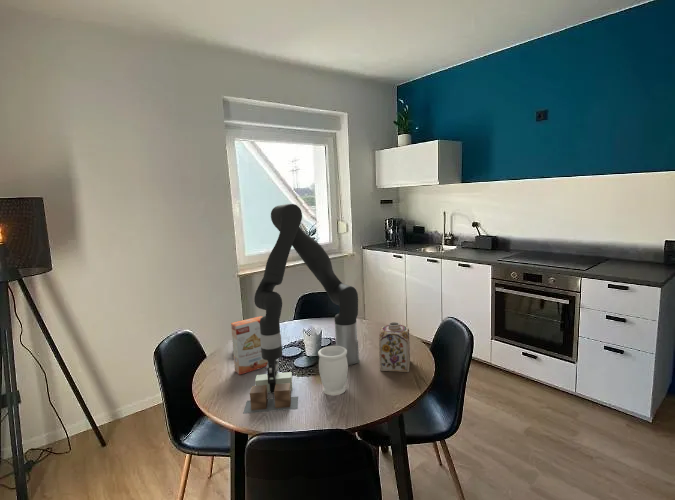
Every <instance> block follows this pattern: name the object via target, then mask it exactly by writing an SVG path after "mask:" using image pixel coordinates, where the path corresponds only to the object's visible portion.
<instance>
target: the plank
mask: <svg viewBox="0 0 675 500" xmlns="http://www.w3.org/2000/svg"><path fill="white" fill-rule="evenodd" d="M292 373H293V372H292V371H289V372H288V371H287V372H278V373H277V376H276V384H284V383H290V390H291V391H293V374H292ZM271 379H273V378H270V380H271ZM254 382H255V386H259V385H267V393H271V392H270V384H268V375H267V373H265V374H256V377H255V380H254Z"/></svg>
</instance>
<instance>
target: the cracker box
mask: <svg viewBox="0 0 675 500" xmlns="http://www.w3.org/2000/svg"><path fill="white" fill-rule="evenodd" d="M262 317H263V316H262V315H260V316H255V317H251V318H246V319H243V320H238V321H234V322H231V323H230V329H231V338H232V339H231V340H232V341H231V342H232V353H233V365H234V366H233V368H234V371H235V372H236V373H237V374H238V375H239V376H240V375H243V374H247V373H250V372H254V371H256V370H260V369H262V368H265V367H266V368H267V363H268V361H267V360H264V359H263V358H262V354H261V342H260V337H261V332H260V319H261V318H262Z"/></svg>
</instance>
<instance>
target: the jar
mask: <svg viewBox="0 0 675 500" xmlns="http://www.w3.org/2000/svg"><path fill="white" fill-rule="evenodd" d="M346 354H347V350H346V348H344V347H341V346H336V345H328V346H325V347H322V348H320V349H319V350H318V351H317V355H318V357H319V358H318V372H319V375H320V380H321V384H322V386H323V387H322V392H323V393H324V394H325V395H328V396H339V395H343V394H344V393H345V392H346V390H347V387H346V383H347V379H348V370H349V365H348V363H347V358H346Z"/></svg>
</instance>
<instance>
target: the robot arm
mask: <svg viewBox="0 0 675 500" xmlns="http://www.w3.org/2000/svg"><path fill="white" fill-rule="evenodd" d="M302 220H303V211H302V209H301V208H300V206H298V204H295V203H283V204H280V205H276V206H275V207H273V208H272V209H271V211H270V221H271V222H272V224H273V225H274V227H275V228H276V229H277V231H278V232H279V233H278V237H277V240H276V243H275V245H273V248H272V250H271V251H270V253H269V255H268V258H267V260H266V265H265V267H264V273H263V277H262V279H261V280H260V282H259V285H258V286H257V288H256V291H255V293H254V298H253V300H254V301H253V302H254V305H255V307H257V308H258V309H260V310H265V315H264V316H263V317H262V318H261V319H260V332H261V337H260V342H261V354H262V358H263V359H264V360H267V361H268V363H267V366H266V374H267V375H268V384H270V392H269V393H271V394H274V389H275V384H276V376H277V373H279V366H280V365H279V359H280V358H282V357H283V344H282V334H281V329H280V328H281V325H280V319H281V315H282V308H283V299H282V296H281V295H280V293H279V292H277V291H274V289H275V287H276V286H280V285H281V284H282V283H283V281H284V275H285V271H286V267H287V262H288V259H289V255H290V252H291V249H292V247H293V248H294V251H295V252H296V253H297V254H298V255H299V257H300V258H301V260H302V261H303V262H304V264H305V266H307V268H308V270H309V271H310V272H311V273H312V275H314V277H315V278H316V279H317V280H318V281H319V283H320V284H321V285H322V287H323V289H324V290H325V292H326V294H327V296H328V297H329V299H330V301H331V302H332V303H333V304H335V305H336V306H338V307H339V313H337V314H335V316H334V333H335V335H334V337H335V346H341V347H344V348H346V350H347V354H346V358H347V363H348V366H352V365H354V364H355V365H356V364H359V363H360V359H359V358H360V356H359V339H358V328H357V327H358V326H357V324H358V322H357V318H358V316H359V315H358V314H359V293H358V291H357V289H356V288H355V287H354V286H352V285H348V284H345V283H343V282H342V281H341V280H340V279H339V278H338V276H337V275H336V274H335V272H334V269H333V266H332V261H331V258H330V256H329V255H328V253H327V252H326V250H325V249H324V248H323V247H322V246H321V244H320V243H318V241H317V240H315V239H314V238H312V236H310V235H308V234H307V233H306V232H305V231H304V230H303V229H302V228H301V223H302ZM270 378H273V379H271V380H270Z"/></svg>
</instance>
